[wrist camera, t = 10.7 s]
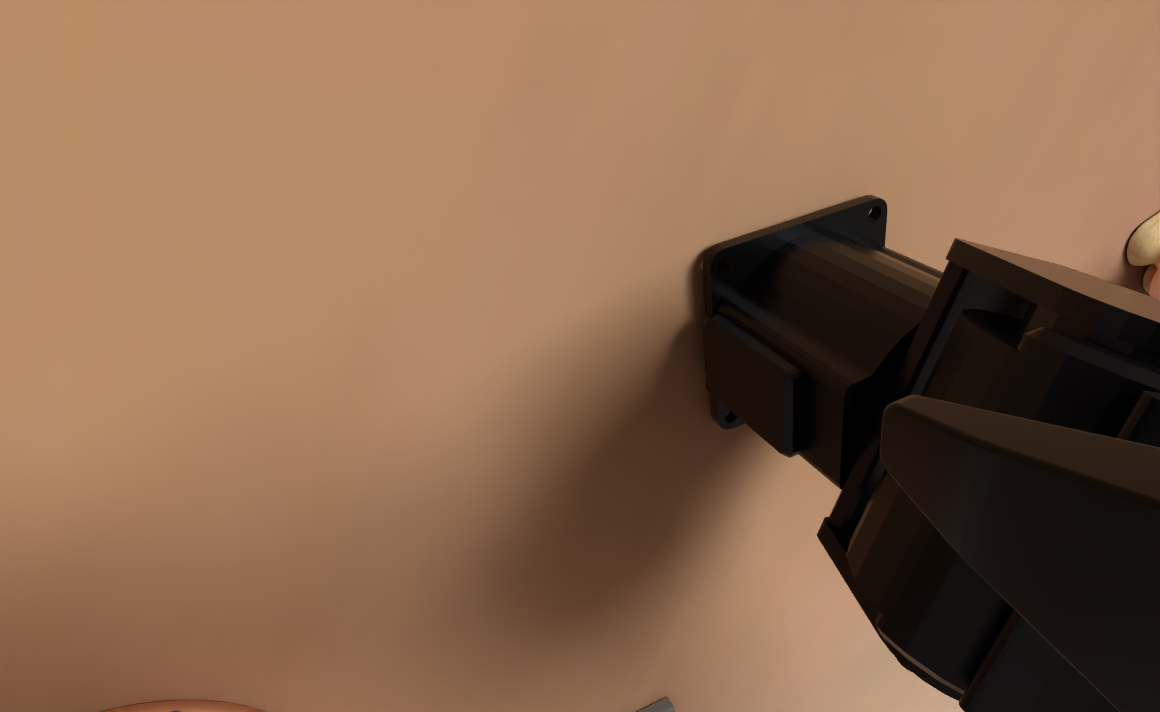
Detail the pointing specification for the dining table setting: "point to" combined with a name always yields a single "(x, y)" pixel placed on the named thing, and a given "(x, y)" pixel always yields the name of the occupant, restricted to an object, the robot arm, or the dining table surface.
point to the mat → (660, 706)
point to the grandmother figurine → (1147, 253)
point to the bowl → (185, 707)
